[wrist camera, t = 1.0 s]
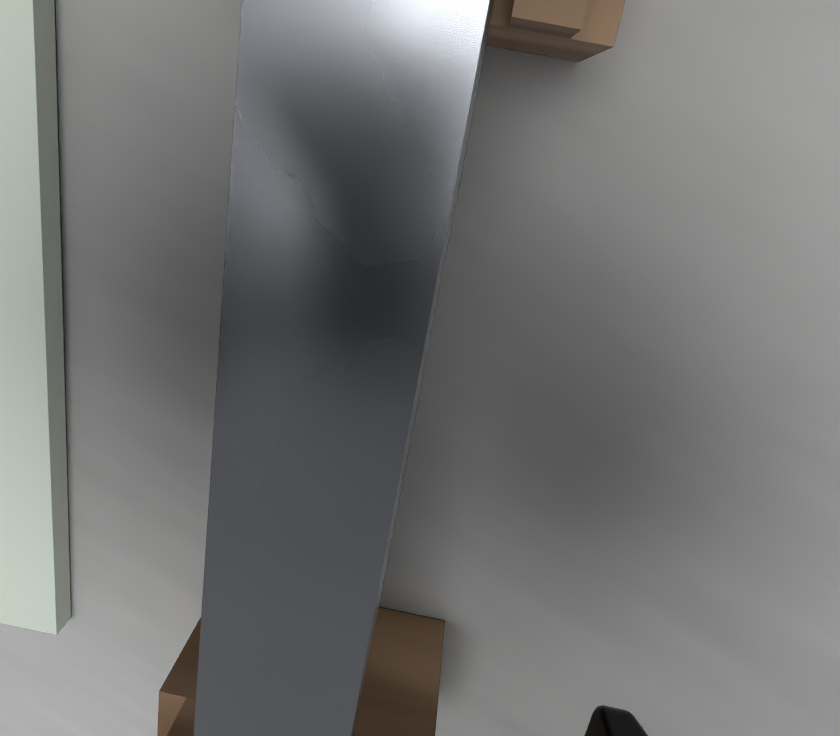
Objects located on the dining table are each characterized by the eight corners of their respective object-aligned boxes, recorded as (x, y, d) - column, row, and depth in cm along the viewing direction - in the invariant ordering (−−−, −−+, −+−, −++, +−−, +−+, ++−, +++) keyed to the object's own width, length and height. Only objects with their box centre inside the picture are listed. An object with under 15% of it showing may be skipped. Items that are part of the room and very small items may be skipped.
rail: (339, 813, 18) (311, 943, 15) (229, 789, 18) (181, 915, 15) (534, -206, 10) (551, -328, 7) (329, -242, 10) (266, -377, 7)
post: (427, 692, 22) (407, 890, 17) (218, 648, 22) (128, 829, 17) (444, 621, 21) (428, 807, 15) (224, 575, 21) (129, 744, 16)
